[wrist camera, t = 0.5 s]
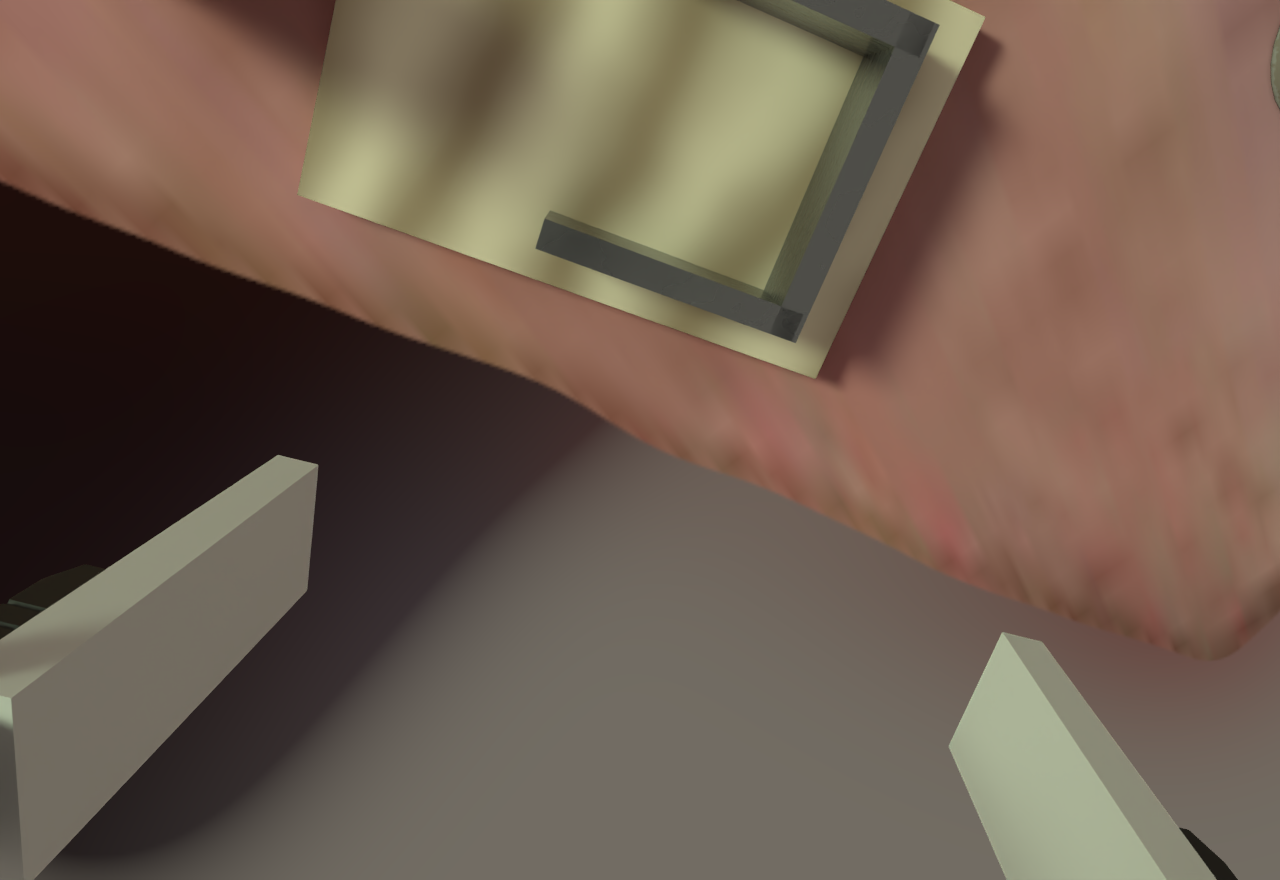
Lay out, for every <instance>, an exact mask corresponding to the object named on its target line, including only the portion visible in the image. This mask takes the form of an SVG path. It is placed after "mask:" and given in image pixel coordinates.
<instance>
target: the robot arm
mask: <svg viewBox="0 0 1280 880" xmlns="http://www.w3.org/2000/svg"><path fill="white" fill-rule="evenodd" d="M317 474H318V465H317V464H312V463H309V462H304V461H301V460H296V459H292V458H288V457H284V456H280V455H277V456H276V457H275V458H273V459H272V460H270V461H268V462H267V463H266V464H264V465H262V466H261V467H259V468H258V469H256V470H255V471H253V472H252V473H250V474H249V475H247V476H246V477H244V478H243V479H241V480H240V481H238V482H237V483H235V484H234V485H232V486H231V487H229V488H228V489H226V490H225V491H223V492H222V493H220V494H219V495H217V496H216V497H214V498H213V499H211V500H210V501H208V502H207V503H205V504H204V505H202V506H201V507H199V508H198V509H196V510H195V511H193V512H192V513H190V514H189V515H187V516H186V517H184V518H183V519H181V520H180V521H178V522H177V523H175V524H174V525H172V526H171V527H169V528H167V529H166V530H164V531H163V532H161V533H160V534H158V535H157V536H155V537H154V538H153V539H151V540H149V541H148V542H147V543H145V544H144V545H142V546H141V547H139V548H138V549H136V550H134V551H133V552H131V553H130V554H128V555H127V556H125V557H124V558H122V559H121V560H119V561H118V562H117V563H115V564H113V565H112V566H111V567H109V568H107V569H103V568H98V567H94V566H90V565H86V564H85V565H82V566H79V567H76V568H73V569H70V570H67V571H64V572H61V573H58V574H55V575H52V576H49V577H46V578H44V579H42V580H40V581H38V582H37V583H35V584H33V585H32V586H30V587H28V588H27V589H25V590H24V591H22V592H20V593H19V594H17V595H15V596H14V597H12V598H10V599H9V602H8V603H7V604H1V605H0V880H34V878H35V877H36V876H37V875H38V874H39V873H40V872H41V871H42V870H43V869H44V868H45V867H46V866H47V865H48V864H49V863H50V861H51V860H53V858H54V857H55V856H56V855H57V854H58V853H59V852H60V851H61V850H62V849H63V848H64V847H65V846H66V845H67V844H68V843H69V842H70V840H71V839H72V838H73V837H74V836H75V835H76V834H77V833H78V832H79V831H80V830H81V829H82V828H83V827H84V826H85V824H87V822H88V821H89V820H90V819H91V818H92V817H93V816H94V815H95V814H96V813H97V812H98V811H99V810H100V809H101V808H102V807H103V806H104V804H105V803H106V802H107V801H108V800H109V799H110V798H111V797H112V796H113V795H114V794H115V793H116V792H117V791H118V790H119V789H120V788H121V786H122V785H123V784H124V783H125V782H126V781H127V780H128V779H129V778H130V777H131V776H132V775H133V774H134V773H135V772H136V771H137V770H138V768H139V767H140V766H141V765H142V764H143V763H144V762H145V761H146V760H147V759H148V758H149V757H150V756H151V755H152V754H153V753H154V751H156V750H157V748H158V747H159V746H160V745H161V744H162V743H163V742H164V741H165V740H166V739H167V738H168V737H169V736H170V735H171V733H173V732H174V730H175V729H176V728H177V727H178V726H179V725H180V724H181V723H182V722H183V721H184V720H185V719H186V718H187V717H188V716H189V715H190V713H191V712H192V711H193V710H194V709H195V708H196V707H197V706H198V705H199V704H200V703H201V702H202V701H203V700H204V699H205V698H206V697H207V695H209V693H210V692H211V691H212V690H213V689H214V688H215V687H216V686H217V685H218V684H219V683H220V682H221V681H222V680H223V679H224V678H225V677H226V675H227V674H228V673H229V672H230V671H231V670H232V669H233V668H234V667H235V666H236V665H237V664H238V663H239V662H240V661H241V660H242V659H243V657H244V656H245V655H246V654H247V653H248V652H249V651H250V650H251V649H252V648H253V647H254V646H255V645H256V644H257V643H258V642H259V641H260V639H261V638H262V637H263V636H264V635H265V634H266V633H267V632H268V631H269V630H270V629H271V628H272V627H273V626H274V625H275V624H276V622H277V621H278V620H279V619H280V618H281V617H282V616H283V615H284V614H285V613H286V612H287V611H288V610H289V609H290V608H291V607H292V606H293V605H294V604H295V602H296V601H297V600H298V599H299V598H300V597H301V596H302V595H303V594H304V593H305V592H306V591H307V585H308V574H309V562H310V551H311V540H312V529H313V518H314V507H315V496H316V485H317ZM949 748H950V751H951V753H952V755H953V758H954V760H955V762H956V765H957V767H958V769H959V771H960V774H961V776H962V778H963V781H964V783H965V785H966V788H967V790H968V792H969V794H970V797H971V799H972V801H973V804H974V806H975V808H976V810H977V813H978V815H979V817H980V820H981V822H982V824H983V826H984V829H985V831H986V833H987V836H988V838H989V840H990V843H991V845H992V847H993V849H994V852H995V854H996V856H997V859H998V861H999V863H1000V865H1001V867H1002V870H1003V872H1004V875H1005V877H1006V879H1007V880H1238V879H1237V878H1236V877H1235V876H1234V874H1233V873H1232V872H1231V870H1230V869H1229V868H1228V866H1227V865H1226V864H1225V863H1224V862H1223V861H1222V860H1221V859H1220V858H1219V857H1218V856H1217V855H1216V854H1215V853H1213V852H1212V851H1211V850H1210V849H1209V848H1208V847H1207V846H1206V845H1205V844H1204V843H1202V842H1201V841H1200V840H1199V839H1198V838H1197V837H1196V836H1195V835H1194V834H1193V833H1191V831H1189V830H1187V829H1183V828H1179V827H1178V826H1177V825H1176V823H1175V822H1174V821H1173V820H1172V818H1171V817H1170V816H1169V814H1168V813H1167V811H1166V810H1165V808H1164V807H1163V806H1162V804H1161V803H1160V802H1159V800H1158V799H1157V798H1156V797H1155V795H1154V793H1153V792H1152V791H1151V789H1150V788H1149V787H1148V785H1147V784H1146V783H1145V781H1144V780H1143V779H1142V777H1141V776H1140V774H1139V773H1138V772H1137V770H1136V769H1135V768H1134V766H1133V765H1132V764H1131V762H1130V761H1129V759H1128V758H1127V757H1126V755H1125V754H1124V753H1123V751H1122V750H1121V748H1120V747H1119V746H1118V744H1117V743H1116V742H1115V740H1114V739H1113V738H1112V736H1111V735H1110V734H1109V732H1108V731H1107V729H1106V728H1105V727H1104V725H1103V724H1102V723H1101V721H1100V720H1099V719H1098V717H1097V716H1096V714H1095V713H1094V712H1093V710H1092V709H1091V708H1090V706H1089V705H1088V704H1087V702H1086V701H1085V699H1084V698H1083V697H1082V695H1081V694H1080V693H1079V691H1078V690H1077V689H1076V687H1075V686H1074V685H1073V683H1072V682H1071V681H1070V679H1069V678H1068V676H1067V675H1066V674H1065V672H1064V671H1063V669H1062V668H1061V667H1060V665H1059V664H1058V663H1057V661H1056V660H1055V659H1054V657H1053V656H1052V655H1051V653H1050V652H1049V651H1048V649H1047V648H1046V646H1045V645H1044V644H1043V642H1041V641H1037V640H1032V639H1029V638H1025V637H1020V636H1017V635H1013V634H1009V633H1005V632H1003V633H1002V634H1001V636H1000V638H999V640H998V642H997V645H996V647H995V649H994V651H993V653H992V655H991V657H990V660H989V662H988V664H987V666H986V668H985V670H984V672H983V674H982V677H981V679H980V681H979V683H978V685H977V687H976V689H975V691H974V693H973V696H972V698H971V700H970V702H969V704H968V706H967V708H966V710H965V712H964V715H963V717H962V719H961V721H960V723H959V725H958V727H957V730H956V732H955V734H954V736H953V738H952V740H951V742H950V744H949Z"/></svg>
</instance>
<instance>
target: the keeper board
mask: <svg viewBox="0 0 1280 880" xmlns="http://www.w3.org/2000/svg"><path fill="white" fill-rule="evenodd" d="M887 1H889V2H891V3H893V4H896V5H898V6H900V7H902V8H904V9H906V10H909V11H911V12H913V13H915V14H917V15H919V16H922V17H924V18H926V19H928V20H930V21H932V22H935V23H937V24H939V25H940V26H939V28H938V30H937V32H936V34H935V37H934V39H933V41H932V43H931V45H930V48H929V50H928V52H927V54H926V56H925V59H924V61H923V63H922V65H921V68H920V70H919V72H918V74H917V76H916V79H915V81H914V83H913V85H912V87H911V90H910V92H909V94H908V96H907V98H906V101H905V103H904V105H903V107H902V109H901V112H900V114H899V116H898V118H897V121H896V123H895V125H894V127H893V129H892V132H891V134H890V136H889V138H888V140H887V143H886V145H885V147H884V149H883V151H882V154H881V156H880V158H879V160H878V163H877V165H876V167H875V169H874V171H873V174H872V176H871V178H870V180H869V182H868V185H867V187H866V189H865V191H864V193H863V196H862V198H861V200H860V202H859V205H858V207H857V209H856V211H855V213H854V216H853V218H852V220H851V222H850V224H849V227H848V229H847V231H846V233H845V235H844V238H843V240H842V242H841V244H840V246H839V249H838V251H837V253H836V255H835V258H834V260H833V262H832V264H831V266H830V269H829V271H828V273H827V275H826V277H825V280H824V282H823V284H822V286H821V288H820V291H819V293H818V295H817V297H816V300H815V302H814V304H813V306H812V308H811V311H810V313H809V315H808V317H807V319H806V322H805V324H804V326H803V328H802V330H801V333H800V335H799V337H798V339H797V342H796V343H794V342H791V341H788V340H785V339H783V338H780V337H777V336H774V335H772V334H769V333H766V332H763V331H761V330H758V329H755V328H752V327H750V326H747V325H744V324H741V323H738V322H736V321H733V320H730V319H727V318H725V317H722V316H719V315H716V314H714V313H711V312H708V311H705V310H703V309H700V308H697V307H694V306H692V305H689V304H686V303H683V302H681V301H678V300H675V299H672V298H670V297H667V296H664V295H661V294H659V293H656V292H653V291H650V290H648V289H645V288H642V287H639V286H637V285H634V284H631V283H628V282H626V281H623V280H620V279H617V278H615V277H612V276H609V275H606V274H604V273H601V272H598V271H595V270H592V269H590V268H587V267H584V266H581V265H579V264H576V263H573V262H570V261H568V260H565V259H562V258H559V257H557V256H554V255H551V254H548V253H546V252H543V251H540V250H537V249H535V248H536V244H537V241H538V238H539V235H540V232H541V228H542V225H543V222H544V219H545V217H546V216H547V214H548V213H549V211H550V210H551V211H554V212H556V213H559V214H562V215H564V216H567V217H570V218H572V219H575V220H578V221H580V222H583V223H586V224H588V225H591V226H594V227H596V228H599V229H602V230H604V231H607V232H610V233H613V234H615V235H618V236H621V237H623V238H626V239H629V240H631V241H634V242H637V243H639V244H642V245H645V246H647V247H650V248H653V249H655V250H658V251H661V252H663V253H666V254H669V255H671V256H674V257H677V258H679V259H682V260H685V261H687V262H690V263H693V264H695V265H698V266H701V267H704V268H706V269H709V270H712V271H714V272H717V273H720V274H722V275H725V276H728V277H730V278H733V279H736V280H738V281H741V282H744V283H746V284H749V285H752V286H754V287H757V288H760V289H762V290H764V288H765V286H766V284H767V281H768V279H769V277H770V274H771V272H772V270H773V267H774V265H775V263H776V260H777V258H778V256H779V253H780V251H781V249H782V246H783V244H784V242H785V239H786V237H787V234H788V232H789V230H790V227H791V225H792V223H793V220H794V218H795V216H796V213H797V211H798V209H799V206H800V204H801V202H802V199H803V197H804V195H805V192H806V190H807V188H808V185H809V183H810V181H811V178H812V176H813V173H814V171H815V169H816V166H817V164H818V162H819V159H820V157H821V155H822V152H823V150H824V148H825V145H826V143H827V141H828V138H829V136H830V134H831V131H832V129H833V127H834V124H835V122H836V120H837V117H838V115H839V112H840V110H841V108H842V105H843V103H844V101H845V98H846V96H847V94H848V91H849V89H850V87H851V84H852V82H853V80H854V77H855V75H856V73H857V70H858V68H859V66H860V63H861V61H862V59H863V56H861V55H859V54H857V53H855V52H852V51H850V50H848V49H846V48H843V47H841V46H839V45H837V44H834V43H832V42H830V41H828V40H825V39H823V38H821V37H819V36H816V35H814V34H812V33H810V32H807V31H805V30H803V29H801V28H798V27H796V26H794V25H791V24H789V23H787V22H785V21H782V20H780V19H778V18H776V17H773V16H771V15H769V14H767V13H764V12H762V11H760V10H758V9H755V8H753V7H751V6H749V5H746V4H744V3H742V2H740V1H737V0H336V2H335V7H334V12H333V17H332V22H331V28H330V33H329V38H328V43H327V48H326V53H325V58H324V63H323V68H322V73H321V78H320V83H319V88H318V93H317V98H316V103H315V108H314V113H313V118H312V123H311V128H310V134H309V139H308V144H307V149H306V154H305V159H304V164H303V169H302V174H301V179H300V184H299V189H298V194H297V195H299V196H302V197H305V198H308V199H311V200H314V201H316V202H319V203H322V204H325V205H328V206H330V207H333V208H336V209H339V210H342V211H344V212H347V213H350V214H353V215H356V216H359V217H361V218H364V219H367V220H370V221H373V222H375V223H378V224H381V225H384V226H387V227H389V228H392V229H395V230H398V231H401V232H404V233H406V234H409V235H412V236H415V237H418V238H420V239H423V240H426V241H429V242H432V243H434V244H437V245H440V246H443V247H446V248H448V249H451V250H454V251H457V252H460V253H463V254H465V255H468V256H471V257H474V258H477V259H479V260H482V261H485V262H488V263H491V264H493V265H496V266H499V267H502V268H505V269H508V270H510V271H513V272H516V273H519V274H522V275H524V276H527V277H530V278H533V279H536V280H538V281H541V282H544V283H547V284H550V285H553V286H555V287H558V288H561V289H564V290H567V291H569V292H572V293H575V294H578V295H581V296H583V297H586V298H589V299H592V300H595V301H598V302H600V303H603V304H606V305H609V306H612V307H614V308H617V309H620V310H623V311H626V312H628V313H631V314H634V315H637V316H640V317H642V318H645V319H648V320H651V321H654V322H657V323H659V324H662V325H665V326H668V327H671V328H673V329H676V330H679V331H682V332H685V333H687V334H690V335H693V336H696V337H699V338H702V339H704V340H707V341H710V342H713V343H716V344H718V345H721V346H724V347H727V348H730V349H732V350H735V351H738V352H741V353H744V354H747V355H749V356H752V357H755V358H758V359H761V360H763V361H766V362H769V363H772V364H775V365H777V366H780V367H783V368H786V369H789V370H792V371H794V372H797V373H800V374H803V375H806V376H808V377H811V378H814V379H816V377H817V375H818V372H819V370H820V368H821V366H822V364H823V362H824V360H825V358H826V355H827V353H828V351H829V349H830V347H831V345H832V343H833V340H834V338H835V336H836V334H837V332H838V330H839V328H840V326H841V323H842V321H843V319H844V317H845V315H846V313H847V311H848V309H849V306H850V304H851V302H852V300H853V298H854V296H855V294H856V292H857V289H858V287H859V285H860V283H861V281H862V279H863V277H864V275H865V272H866V270H867V268H868V266H869V264H870V262H871V260H872V258H873V255H874V253H875V251H876V249H877V247H878V245H879V243H880V241H881V238H882V236H883V234H884V232H885V230H886V228H887V226H888V224H889V221H890V219H891V217H892V215H893V213H894V211H895V209H896V206H897V204H898V202H899V200H900V198H901V196H902V194H903V192H904V189H905V187H906V185H907V183H908V181H909V179H910V177H911V175H912V172H913V170H914V168H915V166H916V164H917V162H918V160H919V158H920V155H921V153H922V151H923V149H924V147H925V145H926V143H927V141H928V138H929V136H930V134H931V132H932V130H933V128H934V126H935V124H936V121H937V119H938V117H939V115H940V113H941V111H942V109H943V107H944V104H945V102H946V100H947V98H948V96H949V94H950V92H951V90H952V87H953V85H954V83H955V81H956V79H957V77H958V75H959V73H960V70H961V68H962V66H963V64H964V62H965V60H966V58H967V55H968V53H969V51H970V49H971V47H972V45H973V43H974V41H975V38H976V36H977V34H978V32H979V30H980V28H981V26H982V24H983V21H984V19H985V17H984V16H982V15H980V14H978V13H975V12H973V11H971V10H969V9H967V8H965V7H963V6H961V5H958V4H956V3H954V2H952V1H950V0H887Z"/></svg>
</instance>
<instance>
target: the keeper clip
mask: <svg viewBox="0 0 1280 880" xmlns="http://www.w3.org/2000/svg"><path fill="white" fill-rule="evenodd" d="M737 1H740V2H742V3H744V4H746V5H749V6H751V7H753V8H755V9H758V10H760V11H762V12H764V13H767V14H769V15H771V16H773V17H776V18H778V19H780V20H782V21H785V22H787V23H789V24H791V25H794V26H796V27H798V28H801V29H803V30H805V31H807V32H810V33H812V34H814V35H816V36H819V37H821V38H823V39H825V40H828V41H830V42H832V43H834V44H837V45H839V46H841V47H843V48H846V49H848V50H850V51H852V52H855V53H857V54H859V55H861V56H863V59H862V61H861V63H860V66H859V68H858V70H857V73H856V75H855V77H854V80H853V82H852V84H851V87H850V89H849V91H848V94H847V96H846V98H845V101H844V103H843V105H842V108H841V110H840V112H839V115H838V117H837V120H836V122H835V124H834V127H833V129H832V131H831V134H830V136H829V138H828V141H827V143H826V145H825V148H824V150H823V152H822V155H821V157H820V159H819V162H818V164H817V166H816V169H815V171H814V173H813V176H812V178H811V181H810V183H809V185H808V188H807V190H806V192H805V195H804V197H803V199H802V202H801V204H800V206H799V209H798V211H797V213H796V216H795V218H794V220H793V223H792V225H791V227H790V230H789V232H788V234H787V237H786V239H785V242H784V244H783V246H782V249H781V251H780V253H779V256H778V258H777V260H776V263H775V265H774V267H773V270H772V272H771V274H770V277H769V279H768V281H767V284H766V286H765V288H764V290H762V289H760V288H757V287H754V286H752V285H749V284H746V283H744V282H741V281H738V280H736V279H733V278H730V277H728V276H725V275H722V274H720V273H717V272H714V271H712V270H709V269H706V268H704V267H701V266H698V265H695V264H693V263H690V262H687V261H685V260H682V259H679V258H677V257H674V256H671V255H669V254H666V253H663V252H661V251H658V250H655V249H653V248H650V247H647V246H645V245H642V244H639V243H637V242H634V241H631V240H629V239H626V238H623V237H621V236H618V235H615V234H613V233H610V232H607V231H604V230H602V229H599V228H596V227H594V226H591V225H588V224H586V223H583V222H580V221H578V220H575V219H572V218H570V217H567V216H564V215H562V214H559V213H556V212H554V211H551V210H550V211H549V213H548V214H547V216H546V217H545V219H544V222H543V225H542V228H541V232H540V235H539V238H538V241H537V244H536V248H535V249H537V250H540V251H543V252H546V253H548V254H551V255H554V256H557V257H559V258H562V259H565V260H568V261H570V262H573V263H576V264H579V265H581V266H584V267H587V268H590V269H592V270H595V271H598V272H601V273H604V274H606V275H609V276H612V277H615V278H617V279H620V280H623V281H626V282H628V283H631V284H634V285H637V286H639V287H642V288H645V289H648V290H650V291H653V292H656V293H659V294H661V295H664V296H667V297H670V298H672V299H675V300H678V301H681V302H683V303H686V304H689V305H692V306H694V307H697V308H700V309H703V310H705V311H708V312H711V313H714V314H716V315H719V316H722V317H725V318H727V319H730V320H733V321H736V322H738V323H741V324H744V325H747V326H750V327H752V328H755V329H758V330H761V331H763V332H766V333H769V334H772V335H774V336H777V337H780V338H783V339H785V340H788V341H791V342H794V343H796V342H797V339H798V337H799V335H800V333H801V330H802V328H803V326H804V324H805V322H806V319H807V317H808V315H809V313H810V311H811V308H812V306H813V304H814V302H815V300H816V297H817V295H818V293H819V291H820V288H821V286H822V284H823V282H824V280H825V277H826V275H827V273H828V271H829V269H830V266H831V264H832V262H833V260H834V258H835V255H836V253H837V251H838V249H839V246H840V244H841V242H842V240H843V238H844V235H845V233H846V231H847V229H848V227H849V224H850V222H851V220H852V218H853V216H854V213H855V211H856V209H857V207H858V205H859V202H860V200H861V198H862V196H863V193H864V191H865V189H866V187H867V185H868V182H869V180H870V178H871V176H872V174H873V171H874V169H875V167H876V165H877V163H878V160H879V158H880V156H881V154H882V151H883V149H884V147H885V145H886V143H887V140H888V138H889V136H890V134H891V132H892V129H893V127H894V125H895V123H896V121H897V118H898V116H899V114H900V112H901V109H902V107H903V105H904V103H905V101H906V98H907V96H908V94H909V92H910V90H911V87H912V85H913V83H914V81H915V79H916V76H917V74H918V72H919V70H920V68H921V65H922V63H923V61H924V59H925V56H926V54H927V52H928V50H929V48H930V45H931V43H932V41H933V39H934V37H935V34H936V32H937V30H938V28H939V26H940V25H939V24H937V23H935V22H932V21H930V20H928V19H926V18H924V17H922V16H919V15H917V14H915V13H913V12H911V11H909V10H906V9H904V8H902V7H900V6H898V5H896V4H893V3H891V2H889V1H887V0H737Z"/></svg>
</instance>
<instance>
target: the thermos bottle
mask: <svg viewBox="0 0 1280 880" xmlns="http://www.w3.org/2000/svg"><path fill="white" fill-rule="evenodd" d="M1271 85H1272V89H1273V93H1274V98H1275V101H1276V103H1277V105H1278V107H1279V109H1280V27H1279V31H1278V34H1277V37H1276V40H1275V43H1274V47H1273V53H1272V60H1271Z"/></svg>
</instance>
